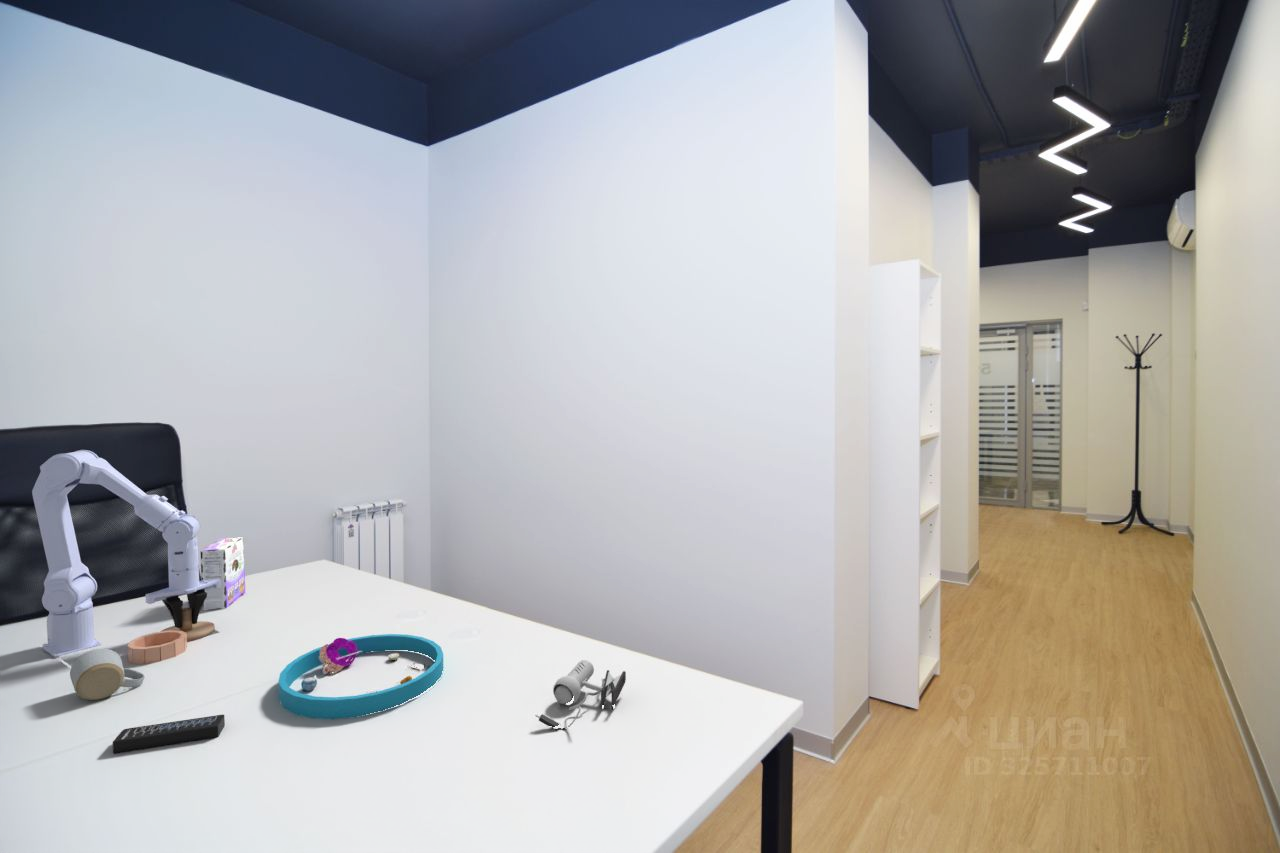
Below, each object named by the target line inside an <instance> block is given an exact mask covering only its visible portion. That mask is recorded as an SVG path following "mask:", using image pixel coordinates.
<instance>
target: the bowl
mask: <svg viewBox="0 0 1280 853" xmlns="http://www.w3.org/2000/svg"><path fill="white" fill-rule="evenodd" d="M161 631H162V630H161ZM126 646H127V650H126V651H127V661H128V662H130V663H132V664H142V665H143V664H144V665H145V664H152V663H158V662H162V661H166V660H169V659H174V658H176V657H177V656H179V655H182V654H183V653H185V652H186V651H187V649H188V642H187V633H185V632H183V631H176V630H169V631H162V632H160V631H155V632H152V633H148V634H145V635H141V636H139V637H136V638H134V639H132V640H130V641H129V642H128V644H127V645H126Z"/></svg>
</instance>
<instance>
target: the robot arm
mask: <svg viewBox="0 0 1280 853" xmlns="http://www.w3.org/2000/svg"><path fill="white" fill-rule="evenodd" d="M39 470H40V472H39V475H38V477H37V479H36V480H35V484H34V486H33V488H32V490H31V493H32V500H33V503H34V508H35V512H36V517H37V521H38V526H39V530H40V535H41V539H42V544H43V550H44V554H45V557H46V563H47V567H48V572H47V574H46V577H45V579H44V581H43V586H44V591H43V592H44V593H43V595H42V597H41V603H42V605H43V608H44V609H45V610H46V611H48V612H49V613H48V615H47V617H46V630H47V631H46V632H47V633H46V634H47V644H43V645H42V646H41V648H42V650H44V651H45V652H47V653H49V654H50V655H51V656H52V657H54V658H60V657H62V656H65V655H69V654H72V653H76V652H79V651H83V650H87V649H91V648H94V647H99V646H102V642H100V641H99V640H97V639H95V624H94V608H93V607H94V606H93V604H94V603H93V601H92V597H93V596H94V595H95V594H96V592H97V590H98V583H97V580H96V579H95V578H94V577H93V576H92V575H91V574H90V571H89V568H88V566H86V565H85V564H84V563H83V562H82V560H81V555H80V550H79V546H78V542H77V535H76V532H75V531H76V530H75V527H74V524H73V519H72V514H71V509H70V503H69V500H68V494H69V493H70V492H71V491H72V490H73V489H74V488H75V487H77V485H79V484H85V485H86V484H87V485H100V486H102V487H104V488H106V489H107V490H108V491H110V492H112V493H113V494H114V495H116V496H118V497H119V498H120V499H123V500H124V501H126V502H127V503H128V504H130V505H132V506H133V509H134V515H136V516H138V517H139V518H141V519H142V520H143V521H144V522H146V523H147V524H148V525H150V526H152V527H153V528H154V529H156V530H158V531H159V532H162V533H161V535H162V539H163V540H164V541H165V542H166V543H167V562H168V563H167V564H168V565H167V567H168V569H167V570H168V587H166V588H162V589H159V590H156V591H153V592H150V593H146V594H145V603H147V604H149V605H153V604H155V603H156V602H157V603H158V602H160V601H161V602H162V603H163V604H164V605H165V607H166V609H167V610H168V612H169V614H170V616H171V619H172V620H173V624H174V626H175V627H177V628H182V608H183V604H184V600H182V599H181V597H182V596H185V595H186V598H187V603H188V607H190V608H192V624H197V622H198V619H199V615H200V612H201V609H202V605H203V603H204V601H205V599H206V598H207V592H205V590H208V589H212V588H220V587H221V580H220V579H217V578H216V579H211V580H204V581H201V580H200V570H199V569H200V568H199V565H200V564H199V548H198V547H199V546H198V536H197V535H198V534H199V533H200V530H201V523H200V521H199V519H198V518H196V516H195V515H194V514H193V515H192V514H188V513H186V511H184V510H179V509H178V508H177V507H175V506H173V505H172V504H171V503H169V502H168V500H169V498H167V497H166V496H165V495H162V496H160V495H158V494H148V493H145V492H144V490H142V489H141V488H139V486H137V485H136V484H134V482H133V481H131V480H129V478H127V477H125V475H123V474H122V473H121V472H120V471H118V470H117V469H116V468H114V467H113V466H112V465H111V463H109V462H108V461H107V460H106V459H105V458H102V457H99V456H98V455H97V453H95V452H94V451H91V450H87V449H80V450H76V451H73V452H66V453H57V454H55V455H52V456H51V457H49V458H48V459H47V460H46V461H45V462H43V464H41V465H40V466H39Z"/></svg>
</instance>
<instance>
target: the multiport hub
mask: <svg viewBox="0 0 1280 853" xmlns="http://www.w3.org/2000/svg"><path fill="white" fill-rule="evenodd" d="M225 724H226V723H225V714H217V715H209V716H203V717H197V718H196V717H195V718H190V719H184V720H183V719H182V720H177V721H169V722H162V723H157V724H156V723H155V724H150V725H142V726H135V727H129V728H124V729H123V730H121V732H120V733H118V735H117V736H116V737H115V739H113V741H112V754H113V755H117V754H123V753H125V754H126V753H130V752H136V751H143V750H149V749H154V748H162V747H169V746H173V745H181V744H188V743H192V742H193V743H194V742H201V741H206V740H212V739H217V738H219V737H220V735H221V733H222V731H223V729H224V728H225Z"/></svg>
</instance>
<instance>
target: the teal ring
mask: <svg viewBox="0 0 1280 853" xmlns="http://www.w3.org/2000/svg"><path fill="white" fill-rule="evenodd" d="M385 650H408V651H414V652H419V653H422V654H425V655H428V656H429V657H431V658H432V659H433V660H435V663H434V662H433V664H432V665H431V666H429V667H428V668H429V669H428V668H427V670H426V671H424V672H422V673H421V674H420V675H418V676H416V677H415V678H413V677H412V676H411V675H407V676H406V677H405V678H403V679H401V680H400V681H397V682H396V684H397V683H400V684H399V685H396V686H392V687H388V688H386V689H385V688H384V689H383V690H379V691H378V690H374V691H366V692H365V693H364V694H357V695H348V696H337V697H336V696H335V697H334V696H314V695H311V694H307V693H306V694H305V693H300V692H299V691H296V690H294V689H293V688H291V686H292V685H293V683H294V681H296V680H298V679H299V678H300V677H301V676H303V675H304V674H306V673H307V672H309V671H312V670H314V669H316V668H319V666H322V668H323V669H322V672H321V673H322V674H323V675H324V676H325V675H328V673H329V675H330V674H332V675H336V674H337V673H338V672H341V671H342V670H343V668H346V667H348V666H349V665H352V664H353V662H354V661H355V659H356V658H357V655H362V654H361V653H363V654H367V653H366V652H369V653H372V652H371V651H381V652H386V651H385ZM387 657H388V660H389V661H391V660H395V661H397V660H399V657H400V653H398V652H393V653H390V654H388V655H387ZM396 659H397V660H396ZM410 665H411V664H410ZM411 666H412V665H411ZM414 667H415V666H414ZM416 668H417V667H416ZM443 669H444V652H443V650H442V647H441V646H440V645H438V643H437V642H435V641H434V640H431V639H428V638H425V637H422V636H418V635H412V634H396V633H386V634H384V633H383V634H372V635H364V636H358V637H352V638H345V637H337V638H336V639H334V640H333V641H332V642H331V643H329V644H328V643H326V644H324V645H323V646H320V647H317V648H314V649H312V650H310V651H308V652H306V653H304V654H302V655H300V656H298V657H297V658H295V659H294V660H292V661H291V662H289V663H288V664H287V665H286V666H285V667H284V668H283V669H282V670H281V671H280V673H279V678H278V682H277V683H278V701H279V703H280V704H281V706H282V708H283V709H284V710H286V711H288V712H290V713H291V714H293V715H296V716H300V717H305V718H308V719H318V720H319V719H320V720H321V719H322V720H340V718H341V719H351V718H350V717H353V718H358V717H357V716H360V717H363V716H362V715H365V716H367V715H366V714H370V713H374V712H378V711H383V710H385V709H388V708H391V707H394V706H396V705H400V704H402V703H404V702H406V701H408V700H409V699H412V698H414V697H416V696H418V695H420V694H421V693H423V692H424V691H426V690H427V689H428V688H430V687H431V686H433V685H434V684H435V683H436V681H437V680H438V679H439V678H440V677H441V675H442V676H443V673H442V671H443V672H444V670H443ZM332 672H335V673H336V674H335V673H332ZM441 678H442V677H441ZM317 684H318V680H317V675H316V674H315V675H313V677H312V676H310V677H306V678H304V679H303V680H302V681H301V689H302V690H303V691H306V692H309V691H313V690H314V689H315V688H316V687H317ZM383 712H384V711H383ZM370 715H371V714H370Z"/></svg>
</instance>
